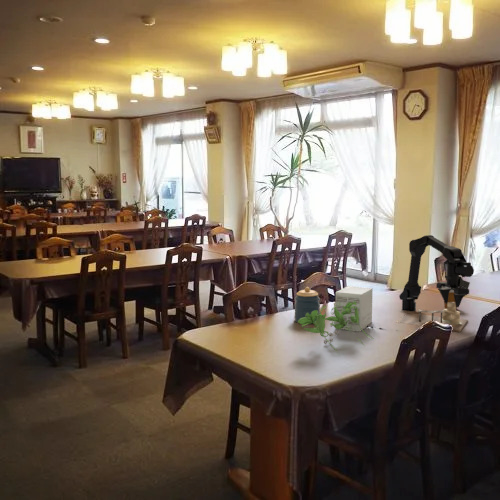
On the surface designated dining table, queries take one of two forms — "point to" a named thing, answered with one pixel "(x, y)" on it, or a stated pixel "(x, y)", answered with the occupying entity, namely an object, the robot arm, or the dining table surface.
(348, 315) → the supplement box
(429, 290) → the dining table surface
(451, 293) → the disposable coffee cup
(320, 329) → the plant cuttings
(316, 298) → the canister
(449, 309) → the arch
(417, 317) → the wire board
